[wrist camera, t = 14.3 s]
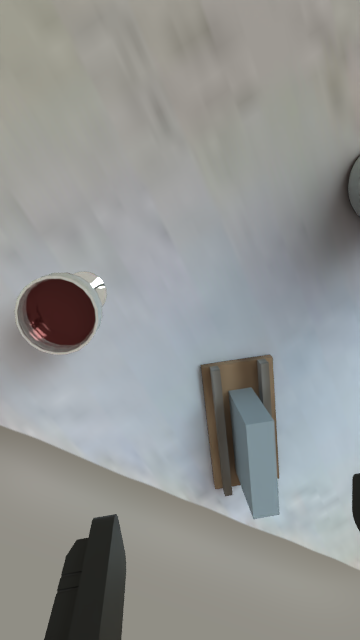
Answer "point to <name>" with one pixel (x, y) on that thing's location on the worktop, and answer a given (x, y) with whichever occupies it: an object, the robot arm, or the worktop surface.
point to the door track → (217, 406)
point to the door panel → (254, 452)
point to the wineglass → (60, 311)
